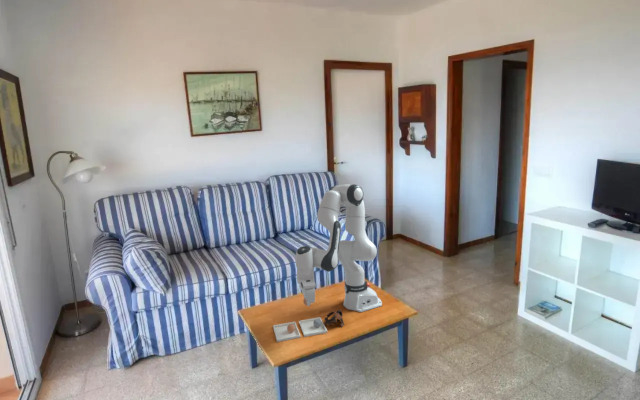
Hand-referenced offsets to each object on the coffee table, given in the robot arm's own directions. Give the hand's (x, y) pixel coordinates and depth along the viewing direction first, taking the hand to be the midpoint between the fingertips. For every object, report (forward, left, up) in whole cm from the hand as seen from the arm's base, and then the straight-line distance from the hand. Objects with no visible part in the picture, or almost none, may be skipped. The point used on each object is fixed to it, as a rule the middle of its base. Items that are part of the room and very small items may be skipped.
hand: (307, 302), depth 199 cm
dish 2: (-2, 0, -15) cm, 15 cm away
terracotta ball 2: (0, 0, -1) cm, 1 cm away
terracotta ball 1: (+9, 0, -15) cm, 17 cm away
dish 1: (+12, 0, -15) cm, 19 cm away
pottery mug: (-15, 0, -16) cm, 21 cm away
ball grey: (-5, 0, -15) cm, 15 cm away
